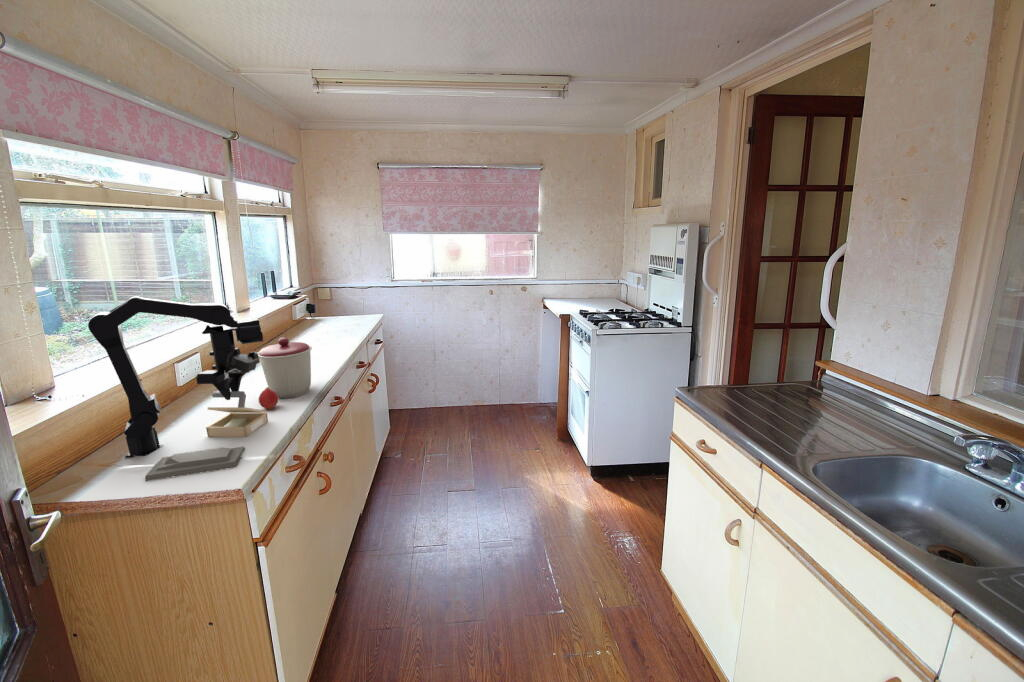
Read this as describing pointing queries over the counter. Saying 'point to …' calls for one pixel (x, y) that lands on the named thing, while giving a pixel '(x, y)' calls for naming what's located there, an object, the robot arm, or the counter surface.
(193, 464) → the soap mold
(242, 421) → the soap bar
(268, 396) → the onion
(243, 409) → the flap
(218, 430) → the carton
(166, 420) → the counter surface
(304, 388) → the canister
